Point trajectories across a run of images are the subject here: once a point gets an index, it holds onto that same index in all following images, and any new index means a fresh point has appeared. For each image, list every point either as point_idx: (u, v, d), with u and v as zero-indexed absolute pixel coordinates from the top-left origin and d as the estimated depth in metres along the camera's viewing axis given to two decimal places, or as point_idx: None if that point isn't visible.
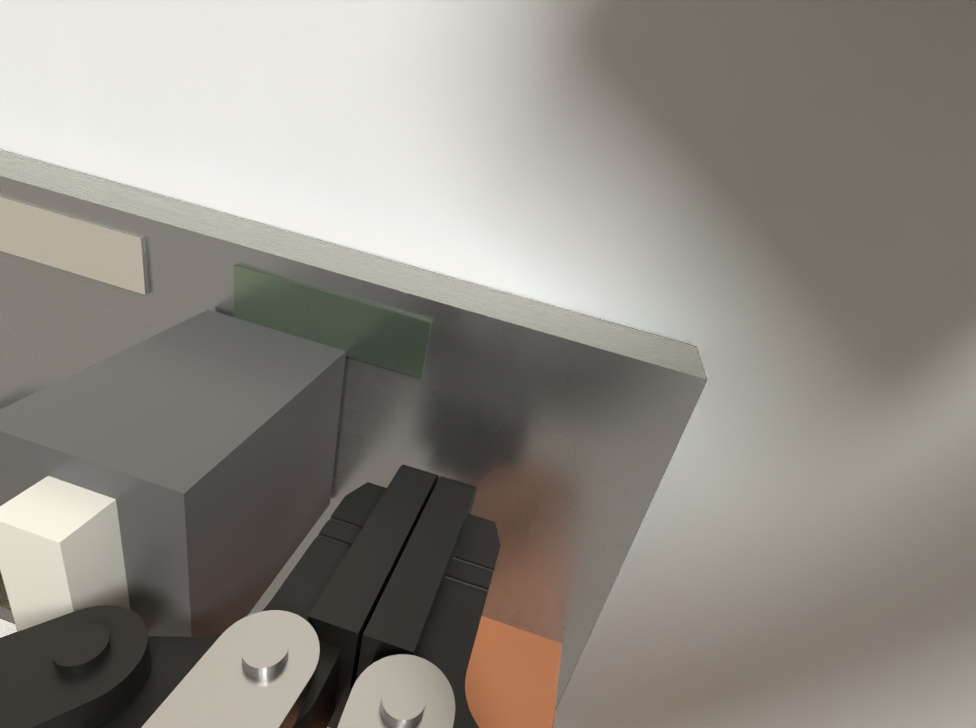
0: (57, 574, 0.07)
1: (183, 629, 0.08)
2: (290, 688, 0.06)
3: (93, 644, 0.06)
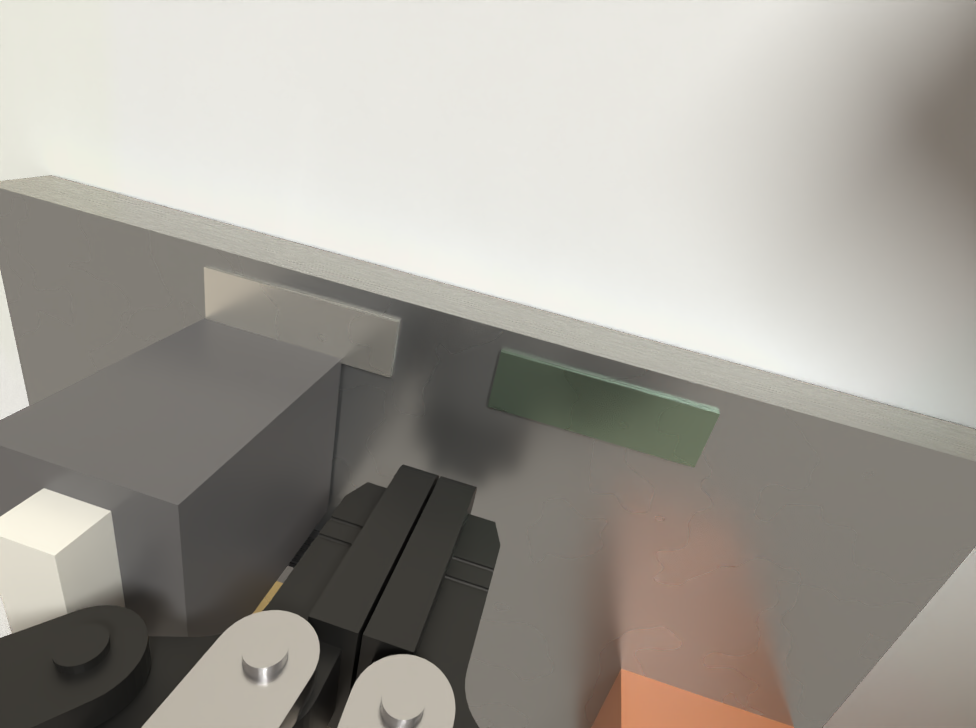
0: (51, 587, 0.07)
1: None
2: (290, 688, 0.06)
3: (93, 644, 0.06)
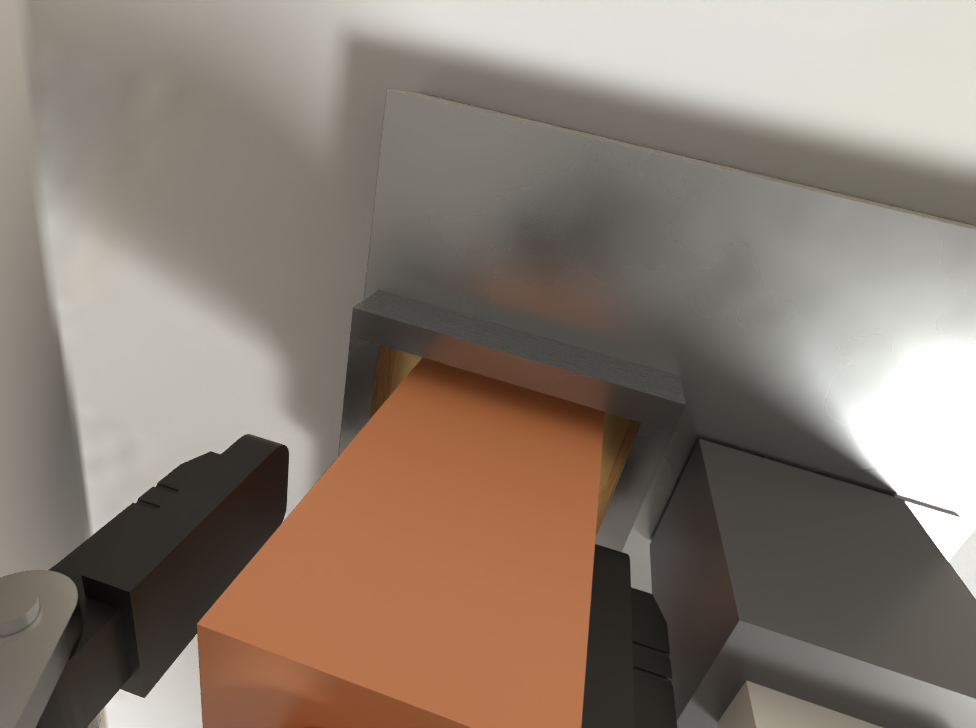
0: None
1: None
2: (28, 642, 0.06)
3: None
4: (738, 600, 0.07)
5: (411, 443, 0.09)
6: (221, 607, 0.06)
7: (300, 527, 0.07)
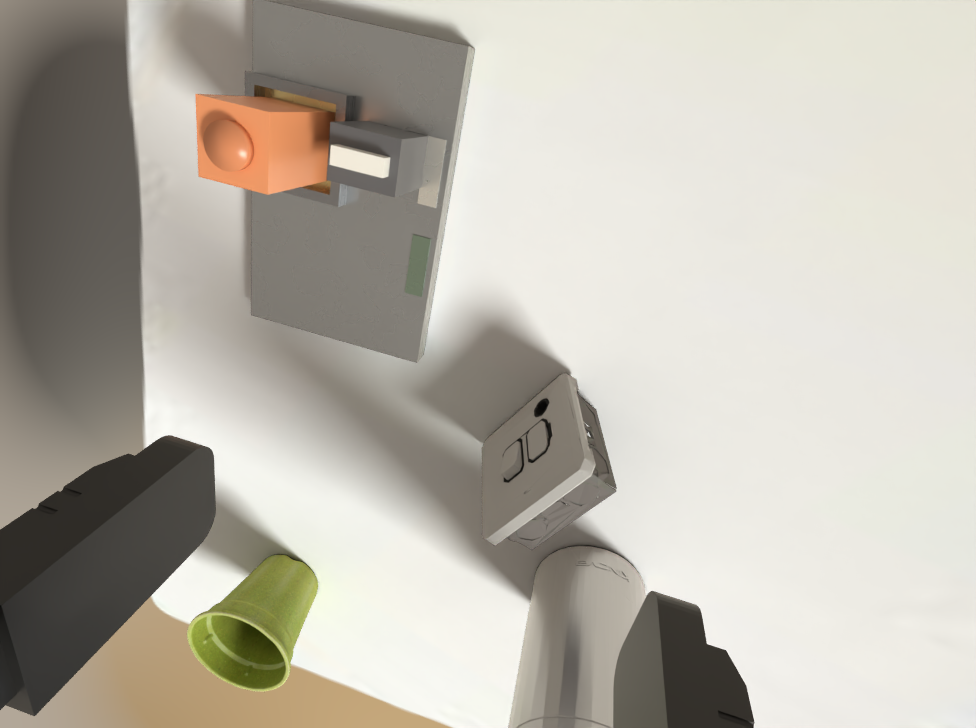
0: (371, 172, 0.29)
1: (349, 183, 0.30)
2: None
3: None
4: None
5: (258, 99, 0.30)
6: (200, 95, 0.27)
7: (220, 95, 0.28)
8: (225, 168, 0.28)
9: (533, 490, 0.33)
